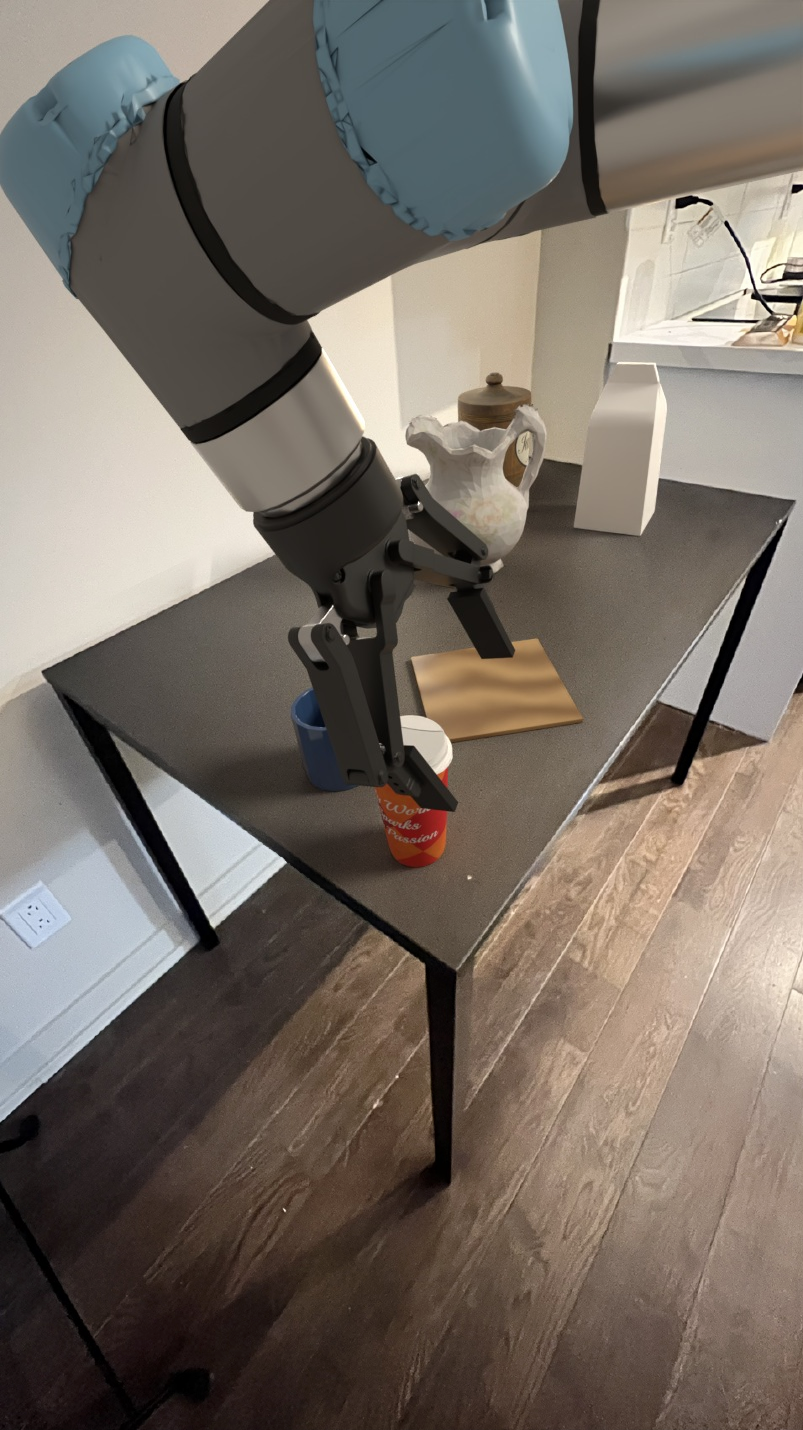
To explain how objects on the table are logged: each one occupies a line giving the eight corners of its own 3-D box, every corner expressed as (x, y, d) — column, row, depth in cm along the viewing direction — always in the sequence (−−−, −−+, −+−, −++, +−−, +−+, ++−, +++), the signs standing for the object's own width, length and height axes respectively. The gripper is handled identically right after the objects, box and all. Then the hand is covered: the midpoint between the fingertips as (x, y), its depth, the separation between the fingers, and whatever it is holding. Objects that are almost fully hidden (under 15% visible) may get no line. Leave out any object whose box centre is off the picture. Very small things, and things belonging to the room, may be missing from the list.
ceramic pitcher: (510, 537, 117) (509, 390, 103) (561, 574, 101) (567, 406, 87) (401, 562, 113) (383, 412, 99) (435, 603, 98) (420, 433, 83)
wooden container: (537, 492, 130) (543, 375, 116) (468, 503, 129) (466, 385, 115) (514, 470, 142) (517, 361, 128) (451, 479, 140) (447, 370, 126)
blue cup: (378, 785, 69) (369, 723, 63) (306, 796, 68) (290, 735, 63) (371, 738, 75) (362, 677, 69) (305, 748, 75) (290, 688, 69)
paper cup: (364, 856, 61) (343, 752, 53) (406, 805, 66) (394, 702, 57) (431, 890, 58) (422, 785, 49) (471, 833, 62) (469, 728, 54)
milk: (573, 527, 116) (588, 370, 99) (591, 504, 123) (607, 355, 107) (640, 535, 111) (667, 372, 94) (654, 511, 118) (682, 355, 101)
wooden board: (582, 722, 74) (583, 718, 73) (433, 745, 73) (433, 741, 73) (536, 641, 88) (537, 638, 87) (410, 660, 87) (410, 656, 86)
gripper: (350, 369, 40) (478, 607, 54) (122, 660, 28) (363, 873, 41) (450, 326, 35) (561, 598, 49) (230, 652, 23) (460, 893, 37)
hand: (471, 724), depth 45 cm, fingers open, 13 cm apart
